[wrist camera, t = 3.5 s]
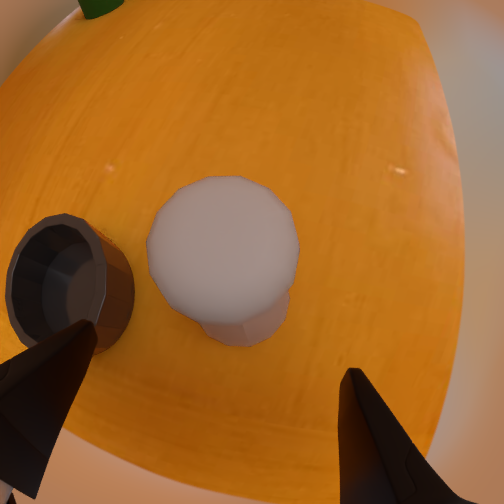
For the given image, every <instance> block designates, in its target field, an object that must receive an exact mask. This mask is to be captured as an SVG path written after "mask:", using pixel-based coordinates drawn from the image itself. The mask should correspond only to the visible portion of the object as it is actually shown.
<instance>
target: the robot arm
mask: <svg viewBox="0 0 504 504" xmlns="http://www.w3.org/2000/svg"><path fill="white" fill-rule="evenodd" d="M97 342H98V336H97V333H96V330H95V327H94V324H93V322H92V321H89V320H86V319H81V320H79V321H77V322H76V323H74V324H72V325H70V326H68V327H67V328H65V329H63V330H61V331H59V332H57V333H56V334H54V335H52V336H50V337H48V338H47V339H45V340H43V341H41V342H39V343H38V344H36V345H34V346H32V347H30V348H29V349H27V350H25V351H23V352H22V353H20V354H18V355H16V356H14V357H13V358H11V359H9V360H7V361H6V362H4V363H2V364H0V504H16V501H15V499H14V495H13V493H12V490H13V488H15V489H17V490H18V491H20V492H22V493H23V494H25V495H27V496H29V497H31V498H32V499H35V498H36V496H37V493H38V490H39V487H40V484H41V481H42V478H43V475H44V472H45V469H46V467H47V464H48V461H49V460H48V459H49V458H50V455H51V453H52V450H53V448H54V445H55V443H56V440H57V438H58V435H59V433H60V430H61V428H62V426H63V423H64V421H65V419H66V416H67V414H68V412H69V409H70V407H71V405H72V403H73V401H74V398H75V396H76V394H77V392H78V390H79V388H80V386H81V383H82V381H83V379H84V377H85V375H86V372H87V369H88V367H89V364H90V361H91V358H92V356H93V353H94V350H95V348H96V345H97ZM338 442H339V465H340V504H477V503H474V502H470V501H467V500H465V499H462V498H460V497H459V496H457V495H456V494H455V493H454V492H453V491H452V490H451V489H450V488H449V487H448V486H447V484H445V482H444V481H443V480H442V479H441V478H440V476H438V474H437V473H436V472H435V471H434V470H433V469H432V467H431V466H430V465H429V464H428V463H427V461H426V460H425V459H424V457H423V456H422V454H421V453H420V452H419V450H418V449H417V447H416V446H415V445H414V443H412V440H411V439H410V437H409V436H408V435H407V433H406V432H405V430H404V429H403V427H402V426H401V425H400V423H399V422H398V420H397V419H396V417H395V416H394V415H393V413H392V412H391V410H390V409H389V408H388V406H387V405H386V403H385V402H384V401H383V399H382V398H381V396H380V395H379V393H378V392H377V391H376V389H375V388H374V386H373V385H372V384H371V382H370V381H369V379H368V378H367V377H366V375H365V374H364V373H363V371H362V370H361V369H360V368H348V369H347V371H346V373H345V375H344V377H343V379H342V381H341V383H340V390H339V412H338Z"/></svg>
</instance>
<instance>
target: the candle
mask: <svg viewBox="0 0 504 504" xmlns="http://www.w3.org/2000/svg"><path fill="white" fill-rule="evenodd" d="M78 2H79V4H80V6H81V9H82V11H83V14H84V16H85V18H86V19H93V18H97V17H99V16H102V15H104V14H106V13H109V12H111V11H112V10H114V9H116V8H117V7H119V6H120V5H121V4H122V3H123V2H124V0H78Z"/></svg>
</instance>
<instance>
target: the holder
mask: <svg viewBox="0 0 504 504" xmlns="http://www.w3.org/2000/svg"><path fill="white" fill-rule="evenodd" d="M134 293H135V291H134V280H133V275H132V271H131V268H130V265H129V263H128V261H127V259H126V257H125V256H124V254H123V253H122V252H121V250H120V249H119V248H118V247H117V246H116V245H115V244H113V243H112V242H111V241H110V239H109V238H107V237H106V236H105V235H103V234H102V233H101V232H99V231H98V230H97V229H96V228H94V227H93V226H92V225H90V224H89V223H88V222H87V221H85V220H84V219H81V218H78V217H75V216H72V215H69V214H66V213H64V214H59V215H54V216H49V217H45V218H44V219H42V220H41V221H40V222H38V223H37V224H36V225H34V226H33V227H32V228H30V229H29V230H28V231H27V233H26V234H25V235H24V237H23V238H22V240H21V241H20V242H19V244H18V245H17V247H16V248H15V250H14V253H13V256H12V259H11V262H10V265H9V267H8V271H7V277H6V290H5V301H6V306H7V311H8V316H9V320H10V324H11V325H12V327H13V329H14V331H15V333H16V334H17V336H18V338H19V339H20V341H21V342H22V343H23V344H24V345H25V346H27V347H28V348H30V347H32V346H34V345H36V344H38V343H39V342H41V341H43V340H45V339H47V338H48V337H50V336H52V335H54V334H56V333H57V332H59V331H61V330H63V329H65V328H67V327H68V326H70V325H72V324H74V323H76V322H77V321H79V320H81V319H86V320H89V321H92V322H93V324H94V327H95V330H96V333H97V336H98V342H97V345H96V348H95V350H94V353H93V355H96V354H99V353H101V352H103V351H105V350H107V349H108V348H110V347H111V346H112V345H113V344H114V343H115V342H116V341H117V340H118V339H119V338H120V336H121V335H122V334H123V332H124V330H125V329H126V327H127V325H128V322H129V320H130V317H131V314H132V310H133V304H134Z"/></svg>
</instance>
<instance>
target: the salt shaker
mask: <svg viewBox="0 0 504 504" xmlns="http://www.w3.org/2000/svg"><path fill="white" fill-rule="evenodd" d="M146 246H147V255H148V264H149V272H150V275H151V277H152V278H153V280H154V282H155V283H156V285H157V286H158V288H159V289H160V291H161V293H162V294H163V296H164V297H165V299H166V300H167V302H168V303H169V305H170V306H171V308H172V309H174V310H176V311H178V312H179V313H181V314H183V315H185V316H187V317H189V318H191V319H192V320H194V321H196V322H198V323H199V324H200V325H201V327H202V328H203V330H204V331H205V332H206V334H207V335H208V336H210V337H212V338H214V339H216V340H218V341H220V342H222V343H224V344H226V345H228V346H248V347H251V346H253V345H255V344H257V343H259V342H261V341H263V340H265V339H267V338H269V337H271V336H272V335H273V334H274V332H275V331H276V330H277V329H278V328H279V326H280V325H281V324H282V323H283V322H284V320H285V318H286V313H287V309H288V304H289V299H290V297H289V293H288V289H289V288H290V287H291V286H292V285H293V283H294V278H295V273H296V268H297V262H298V257H299V252H300V248H299V241H298V237H297V234H296V230H295V226H294V222H293V219H292V215H291V211H290V210H289V209H288V208H287V207H286V206H285V205H284V204H283V203H282V202H281V201H280V200H279V198H278V197H277V196H276V195H275V194H274V193H273V192H272V191H271V190H270V189H269V188H267V187H265V186H263V185H260V184H258V183H256V182H253V181H251V180H249V179H246V178H244V177H242V176H210V177H206V178H204V179H201V180H199V181H196V182H194V183H192V184H189V185H187V186H185V187H182V188H180V189H178V190H177V191H176V193H175V194H174V195H173V196H172V197H171V198H170V199H169V200H168V201H167V202H166V203H165V204H164V205H163V206H162V207H161V209H160V210H159V211H158V212H157V214H156V217H155V219H154V222H153V224H152V227H151V230H150V233H149V235H148V238H147V241H146Z"/></svg>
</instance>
